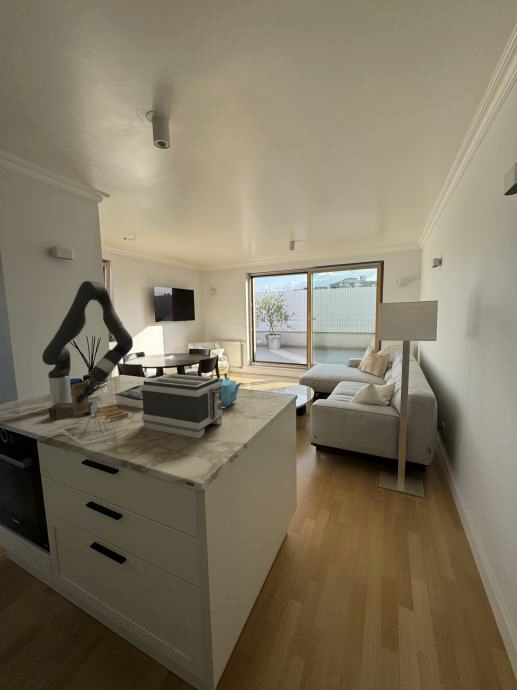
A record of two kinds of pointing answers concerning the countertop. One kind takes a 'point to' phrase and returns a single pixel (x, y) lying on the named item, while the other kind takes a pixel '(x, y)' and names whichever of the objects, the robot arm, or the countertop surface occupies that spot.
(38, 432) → the countertop surface
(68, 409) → the beverage carton
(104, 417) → the oak rack
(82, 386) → the brown wooden block
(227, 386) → the teakettle
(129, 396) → the food packaging
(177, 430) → the toaster
